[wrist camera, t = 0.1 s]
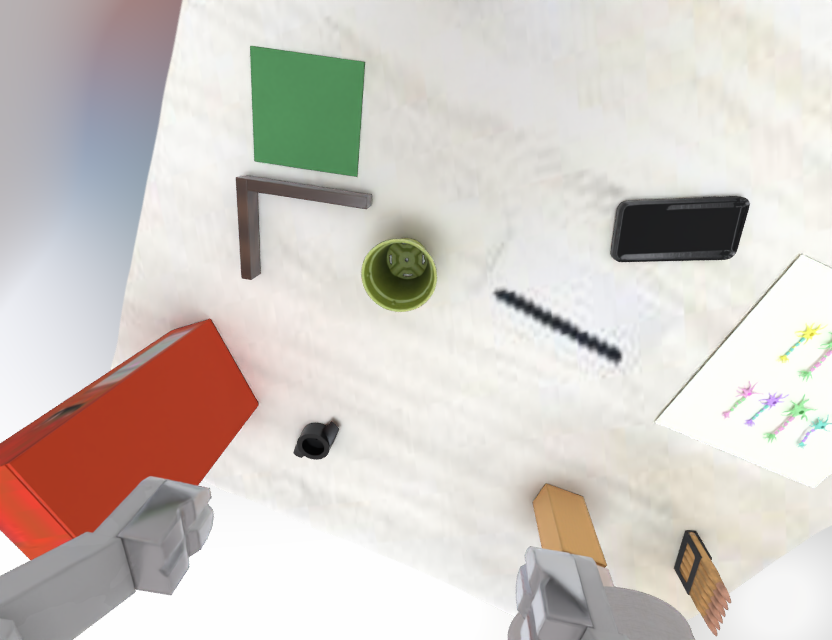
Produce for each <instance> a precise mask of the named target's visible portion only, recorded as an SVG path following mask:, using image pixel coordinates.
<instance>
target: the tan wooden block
mask: <svg viewBox="0 0 832 640" xmlns="http://www.w3.org/2000/svg"><path fill="white" fill-rule="evenodd" d="M533 507H534V512H535V517H536V522H537V527H538V532H539V537H540V541H541V546H542V548H543V549H549V550H555V551H561V552H567V553H570V554H575V555H581V556H587V557H591V558H593V560H594V561H595V562H596V565H597V568H598V571H599V574H600V577H601V580H602V583H603V586H604V589H605V592H606V595H607V598H608V601H609V604H610V607H611V610H612V613H613V616H614V620H615V623H616V626H617V629H618V632H619V633H621V634H625V635H626V636H627V637H628V638H629V639H630V640H695V638H694V636H693V634H692V631H691V628H690V626H689V624H688V622H687V621H686V619H685V618H684V617H683V616H682V614H681V613H680V612H678V611H677V610H676V609H675V608H674V607H672V606H671V605H669V604H668V603H666V602H664V601H663V600H661V599H659V598H656V597H654V596H651V595H649V594H646V593H643V592H639V591H635V590H631V589H626V588H619V587H614V584H613V581H612V578H611V576H610V573H609V570H608V569H606V568H605V567H606V566H607V564H606V561H605V558H604V555H603V553H602V550H601V547H600V544H599V541H598V538H597V535H596V532H595V530H594V527H593V524H592V521H591V518H590V515H589V512H588V509H587V507H586V504H585V501H584V498H583V496H580V495H577V494H574V493H572V492H569V491H566V490H563V489H560V488H558V487H555V486H552V485H549V484H545V485H544V487H543V488H542V490H541V491H540V492H539V494H538V495H537V497H536V498H535V499H534V501H533ZM523 623H524V619H523V617H522V616H521V614H520V613H518V614H517V615H516V616H515V617H514V619H513V621H512V622H511V624H510V627H509V631H508V640H521V635H520V630H521V627H522V625H523Z"/></svg>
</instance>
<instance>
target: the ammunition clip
mask: <svg viewBox="0 0 832 640" xmlns="http://www.w3.org/2000/svg"><path fill="white" fill-rule="evenodd" d="M711 560H712V557H711V556H710V554H709V552H708V551H707V549H706V547H705V545H704V544H703V542H702V540H701V539H700V537H699V535H698V533H697V532H696V531H685V533H684V537H683V540H682V543H681V547H680V550H679V553H678V557H677V560H676V563H675V567H674V569H675V571H676V573H677V575H678V577H679V579H680V580H681V582H682V584H683V586H684V588H685V590H686V592H687V594H688V595H690V596H691V598H692V600H693V602H694V604H695V606H696V608H697V609H698V611H699V612H700V613H701V615H702V617H703V618H704V620H705V622H706V624H707V626H708V627H709V629H710V630H711V631H712V633H713V634H714V635H715V636H717V630H716V628H717V629H718V630H720V625H719V622H721V623H723V621H722V617H721V614H722V615H723V616H724V617H725V611H724V608H725V609H726V610H728V605H727V602H726V601H728V602H729V603H731V599H730V596H729V593H728V591H727V589H726V587H725V586H724V583H723V582H722V580H721V577H720V575H719V573H718V571H717V569H716V568H715V566H714V564H713V563H712V561H711ZM725 599H726V600H725ZM723 607H724V608H723ZM720 613H721V614H720ZM718 621H719V622H718Z"/></svg>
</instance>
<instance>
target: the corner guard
mask: <svg viewBox="0 0 832 640" xmlns="http://www.w3.org/2000/svg"><path fill="white" fill-rule="evenodd" d="M236 190H237V207H238V225H239V242H240V259H241V277H242V278H243V279H249V280H252V279H253V278H255V277H256V276H258V275H259V274H260V273H261V272H260V244H259V216H258V192H259V193H266V194H272V195H278V196H285V197H291V198H298V199H304V200H311V201H317V202H324V203H330V204H337V205H343V206H349V207H356V208H362V209H367V208H369V207H370V206H371V202H372V195H371V194H365V193H358V192H352V191H345V190H339V189H332V188H325V187H319V186H312V185H306V184H299V183H293V182H286V181H280V180H273V179H267V178H260V177H254V176H241V177H236Z"/></svg>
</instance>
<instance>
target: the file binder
mask: <svg viewBox="0 0 832 640" xmlns="http://www.w3.org/2000/svg"><path fill="white" fill-rule="evenodd" d="M257 407H258V402H257V400H256V399H255V397H254V395H253V393H252V392H251V390H250V388H249V386H248V384H247V383H246V381H245V379H244V377H243V376H242V374H241V372H240V370H239V369H238V367H237V365H236V363H235V361H234V360H233V358H232V356H231V354H230V353H229V351H228V349H227V347H226V346H225V344H224V342H223V340H222V338H221V337H220V335H219V333H218V331H217V330H216V328H215V326H214V324H213V323H212V321H211V319H208V320H205V321H202V322H198V323H195V324H191V325H188V326H185V327H181V328H178V329H175V330H172V331H170V332H169V333H167V334H166V335H164V336H163V337H161V338H160V339H158V340H157V341H155V342H153V343H152V344H150V345H149V346H147V347H146V348H144V349H143V350H141V351H140V352H138V353H137V354H135V355H134V356H132V357H131V358H129V359H128V360H126V361H125V362H123V363H122V364H120V365H119V366H117V367H116V368H114V369H113V370H111V371H109V372H108V373H106V374H105V375H103V376H102V377H100V378H99V379H98V380H96V381H94V382H93V383H91V384H90V385H88V386H87V387H85V388H84V389H82V390H81V391H79V392H78V393H76V394H75V395H73V396H72V397H70V398H69V399H67V400H65V401H64V402H63V403H61V404H60V405H58V406H56V407H55V408H53V409H52V410H50V411H49V412H47V413H46V414H44V415H43V416H41V417H40V418H38V419H37V420H35V421H34V422H32V423H31V424H29V425H28V426H26V427H25V428H23V429H22V430H20V431H19V432H17V433H15V434H14V435H12V436H11V437H9V438H8V439H6V440H5V441H3V442H2V443H0V530H1V531H2V532H3V533H4V534H5V535H6V536H7V537H8V538H9V539H10V540H11V541H12V542H13V543H14V544H15V545H16V546H17V547H18V548H19V549H20V550H21V551H22V552H23V553H24V554H25V555H26V556H27V557H28V558H29V559H30V560H33V559H35V558H37V557H38V556H40V555H42V554H44V553H46V552H48V551H50V550H52V549H54V548H56V547H58V546H60V545H62V544H64V543H66V542H68V541H70V540H72V539H74V538H76V537H78V536H80V535H81V534H83V533H85V532H92V533H93V532H94V531H95V530H96V529H97V528H98V527H99V526H100V525H101V524H102V522H103V521H104V520H105V519H106V518H107V517H108V516H109V515H110V514H111V513H112V512H113V511H114V510H115V509H116V508H117V507H118V506H119V505H120V503H121V502H122V501H123V500H124V499H125V498H126V497H127V496H128V495H129V494H130V493H131V492H132V491H133V490H134V489H135V488H136V487H137V485H138V484H139V483H140V482H141V481H142V480H144V479H146V478H147V477H149V476H153V477H158V478H164V479H169V480H173V481H178V482H183V483H188V484H192V485H197V486H198V485H199V483H200V482H201V481H202V479H203V478H204V477H205V476H206V474H207V473H208V472H209V470H210V469H211V468H212V466H213V465H214V464H215V462H216V461H217V460H218V458H219V457H220V456H221V454H222V453H223V452H224V450H225V449H226V448H227V446H228V445H229V444H230V442H231V441H232V440H233V438H234V437H235V436H236V434H237V433H238V432H239V430H240V429H241V428H242V426H243V425H244V424H245V422H246V421H247V420H248V418H249V417H250V416H251V414H252V413H253V412H254V411H255V409H256V408H257Z"/></svg>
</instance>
